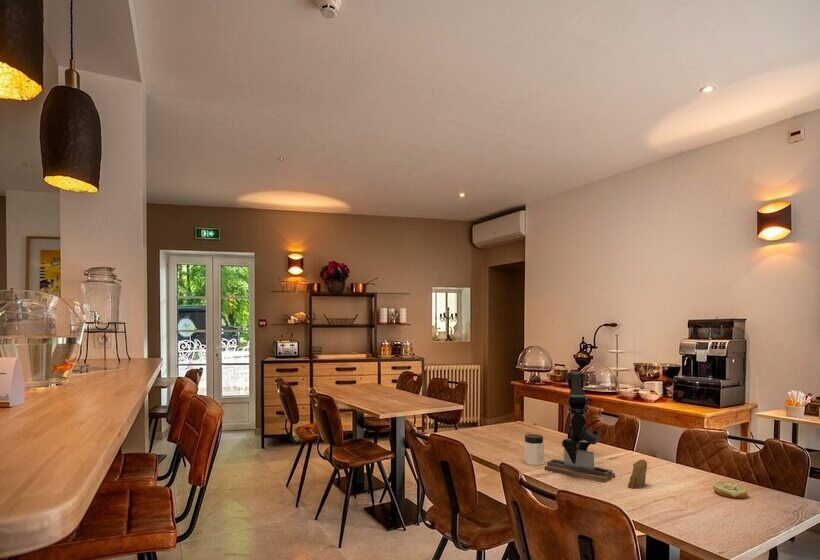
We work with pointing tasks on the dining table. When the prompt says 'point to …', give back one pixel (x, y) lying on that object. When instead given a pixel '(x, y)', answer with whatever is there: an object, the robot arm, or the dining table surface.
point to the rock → (638, 474)
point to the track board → (580, 471)
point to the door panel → (581, 459)
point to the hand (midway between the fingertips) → (578, 461)
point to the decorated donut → (730, 490)
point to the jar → (534, 449)
